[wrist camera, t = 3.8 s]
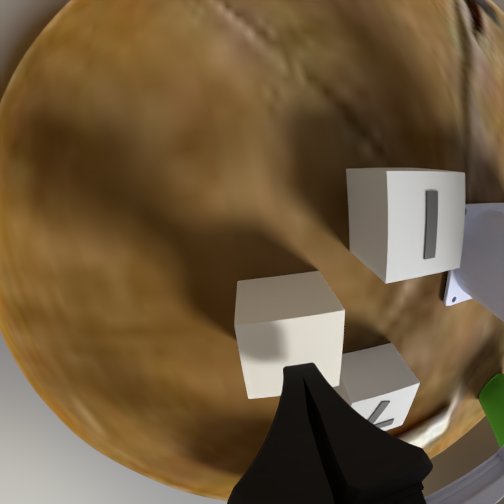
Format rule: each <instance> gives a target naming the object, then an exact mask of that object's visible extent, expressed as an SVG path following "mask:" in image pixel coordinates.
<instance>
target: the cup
mask: <svg viewBox="0 0 504 504" xmlns="http://www.w3.org/2000/svg"><path fill="white" fill-rule="evenodd" d="M479 402H480V404H481V406H482V408H483V410H484V412H485V414H486V416H487V418H488V420H489V423H490V425H491V427H492V429H493V432H494V434H495V437H496V439H497V442H498V444H499V447H500V448H501V447H502V446H503V445H504V374H501V373H498V374H497V375H495V376H494V377H493V378H492V379H491V380H490V381H489V382H488V383H487V384H486V385H485V387H484V388H483V389H482V391H481V393H480V395H479Z"/></svg>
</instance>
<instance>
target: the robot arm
mask: <svg viewBox="0 0 504 504" xmlns="http://www.w3.org/2000/svg"><path fill="white" fill-rule="evenodd" d="M471 298H473V299H474V300H476V301H477V302H479V303H480V304H481V305H483V306H484V307H485V308H487V309H488V310H489V311H491V312H492V313H493V314H494V315H496V316H497V317H498V318H500V319H501V320H502V321H503V322H504V203H475V204H465V220H464V235H463V245H462V254H461V262H460V268H457V269H452V270H448V276H447V283H446V289H445V294H444V300H443V303H444V304H445V305H446V306H450V305H453V304H456V303H460V302H463V301H465V300H468V299H471ZM432 468H433V465H432V463H431V461H430V459H429V457H428V456H427V454H426V453H425V452H424V450H423V449H422V448H420V447H417V446H414V445H412V444H409V443H407V442H404V441H402V440H400V439H398V438H396V437H394V436H392V435H390V434H389V433H387V432H385V431H383V430H382V429H380V428H378V427H377V426H375V425H374V424H372V423H371V422H370V421H368V420H367V419H365V418H364V417H363V416H362V415H360V414H359V413H358V412H357V411H355V410H354V409H353V408H352V407H351V406H350V405H349V404H348V403H347V402H346V401H345V400H344V399H343V398H342V397H341V396H340V395H339V394H338V393H337V392H336V391H335V390H334V388H333V387H332V386H331V385H330V384H329V383H328V381H327V380H326V379H325V378H324V376H323V375H322V374H321V372H320V371H319V369H318V368H317V366H316V365H315V364H314V363H313V362H312V363H305V364H299V365H292V366H285V367H284V368H283V386H282V392H281V397H280V402H279V405H278V409H277V412H276V415H275V418H274V421H273V424H272V426H271V429H270V431H269V433H268V435H267V438H266V440H265V442H264V444H263V446H262V447H261V449H260V451H259V453H258V455H257V456H256V458H255V459H254V461H253V462H252V464H251V466H250V467H249V469H248V470H247V471H246V473H245V474H244V475H243V477H242V478H241V479H240V480H239V482H238V483H237V484H236V485H235V487H234V488H233V490H232V493H231V495H230V497H229V499H228V502H227V504H496V503H497V502H498V501H500V500H501V499H502V498H503V497H504V445H503V446H502V447H501V448H500V449H499V450H498V452H497V453H496V454H494V455H493V456H492V457H490V458H489V459H488V460H486V461H485V462H484V463H482V464H481V465H480V466H478V467H476V468H475V469H473V470H472V471H470V472H469V473H467V474H466V475H464V476H463V477H461V478H459V479H458V480H456V481H454V482H453V483H451V484H449V485H447V486H446V487H444V488H442V489H440V490H438V491H436V492H435V493H432V494H431V495H428V496H427V497H424V496H423V493H422V491H421V490H423V488H424V487H423V485H422V481H423V479H424V478H425V477H426V476H427V475H428V474H429V473H430V471H431V470H432Z"/></svg>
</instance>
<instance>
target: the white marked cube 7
mask: <svg viewBox="0 0 504 504" xmlns="http://www.w3.org/2000/svg"><path fill="white" fill-rule="evenodd" d="M419 384H420V382H419V380H418V379H417V378H416V376H415V375H414V373H413V372H412V370H411V369H410V367H409V366H408V365H407V363H406V362H405V360H404V359H403V358H402V356H401V355H400V353H399V352H398V351H397V349H396V348H395V347H394V345H393V344H392V343H388V344H384V345H380V346H376V347H372V348H368V349H364V350H359V351H354V352H350V353H345V354H342V360H341V371H340V380H339V386H335V387H333V388H334V390H335V391H336V392H337V393H338V394H339V395H340V396H341V397H342V398H343V399H344V400H345V401H346V402H347V403H348V404H349V405H350V406H351V407H352V408H353V409H354V410H355V411H357V412H358V413H359V414H360V415H362V416H363V417H364V418H365V419H367V420H368V421H370V422H371V423H372V424H374V425H375V426H377V427H378V428H380V429H382V430H383V431H386V430H389V429H392V428H395V427H397V426H400V425H402V424H403V422H404V420H405V418H406V415H407V413H408V411H409V409H410V406H411V404H412V401H413V399H414V397H415V394H416V392H417V389H418V386H419Z"/></svg>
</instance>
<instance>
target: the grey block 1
mask: <svg viewBox="0 0 504 504" xmlns="http://www.w3.org/2000/svg"><path fill="white" fill-rule="evenodd" d="M346 178H347V192H348V210H349V243H350V252H351V253H352V254H353V255H354V256H356V257H357V258H358V259H359V260H360V261H361V262H362V263H364V264H365V265H366V266H367V267H368V268H369V269H370V270H371V271H372V272H374V273H375V274H376V275H377V276H378V277H379V278H380V279H381V280H382V281H383V282H385V283H391V282H396V281H401V280H406V279H411V278H416V277H421V276H425V275H430V274H435V273H439V272H444V271H448V270H452V269H457V268H460V262H461V254H462V245H463V235H464V220H465V173H464V172H456V171H446V170H436V169H425V168H351V169H346Z"/></svg>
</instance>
